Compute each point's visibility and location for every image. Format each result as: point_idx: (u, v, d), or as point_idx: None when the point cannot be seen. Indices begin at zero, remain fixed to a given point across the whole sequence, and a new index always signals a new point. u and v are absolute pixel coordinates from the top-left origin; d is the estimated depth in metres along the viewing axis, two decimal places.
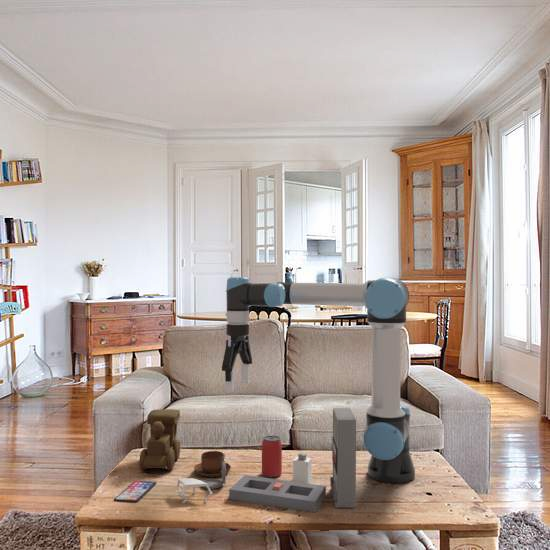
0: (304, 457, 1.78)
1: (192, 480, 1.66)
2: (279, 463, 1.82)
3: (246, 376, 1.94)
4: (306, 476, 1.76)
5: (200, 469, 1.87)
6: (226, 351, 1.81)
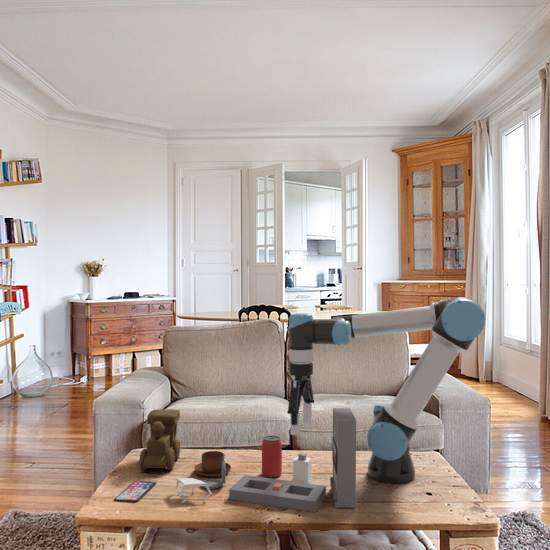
0: (304, 457, 1.78)
1: (191, 480, 1.66)
2: (279, 463, 1.82)
3: (308, 416, 1.85)
4: (306, 476, 1.76)
5: (200, 469, 1.87)
6: (292, 393, 1.72)
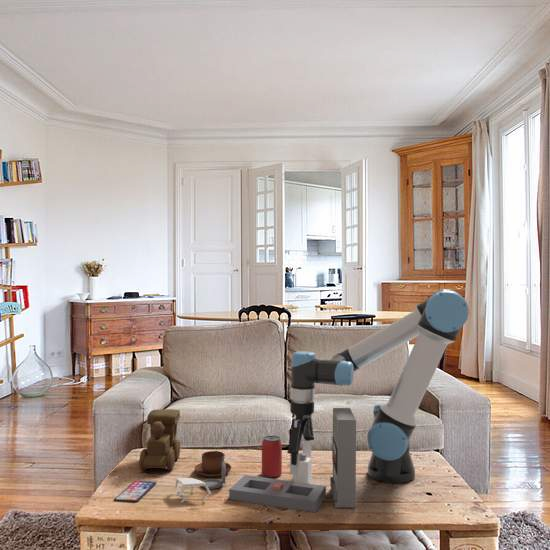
0: (304, 457, 1.78)
1: (190, 480, 1.67)
2: (279, 463, 1.82)
3: (308, 453, 1.85)
4: (306, 476, 1.76)
5: (200, 469, 1.87)
6: (292, 433, 1.72)
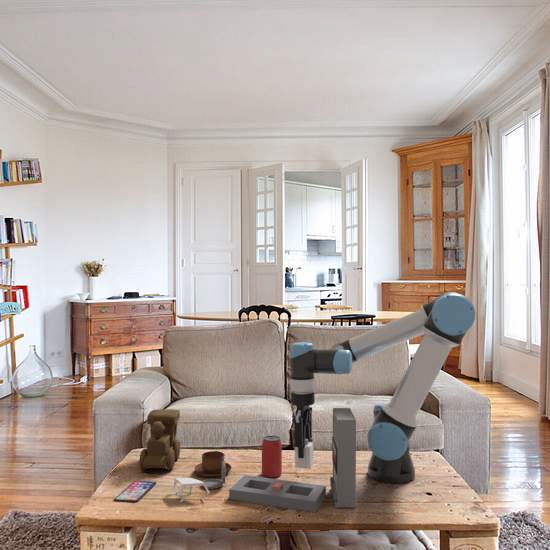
0: (306, 442, 1.78)
1: (189, 479, 1.67)
2: (279, 463, 1.82)
3: None
4: (308, 461, 1.76)
5: (201, 469, 1.87)
6: (295, 428, 1.73)
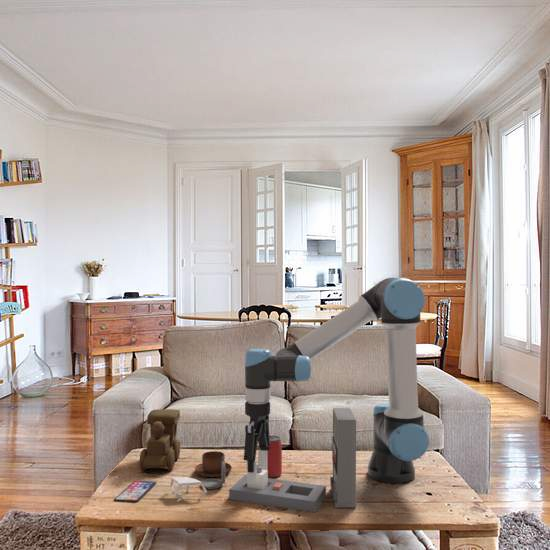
0: (259, 469, 1.67)
1: (186, 479, 1.67)
2: (279, 463, 1.82)
3: (264, 464, 1.72)
4: None
5: (201, 469, 1.87)
6: (247, 439, 1.61)
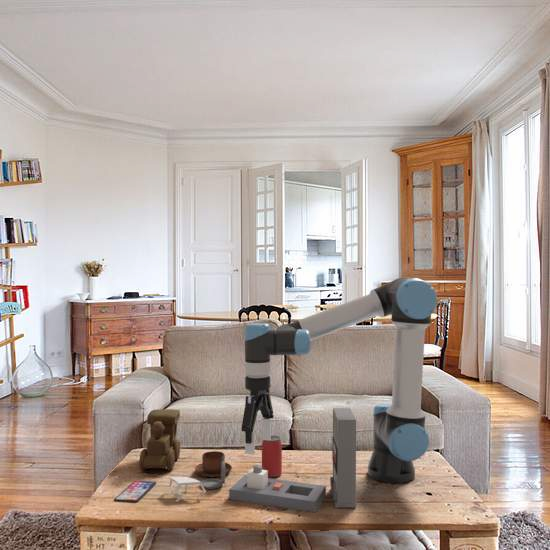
0: (259, 469, 1.67)
1: (185, 478, 1.68)
2: (279, 463, 1.82)
3: (267, 432, 1.74)
4: None
5: (201, 469, 1.87)
6: (246, 409, 1.61)
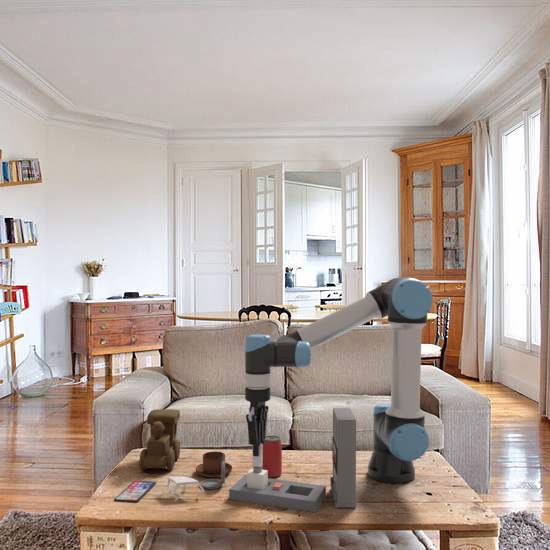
0: (259, 469, 1.67)
1: (183, 478, 1.68)
2: (279, 463, 1.82)
3: None
4: None
5: (201, 470, 1.87)
6: (249, 426, 1.63)
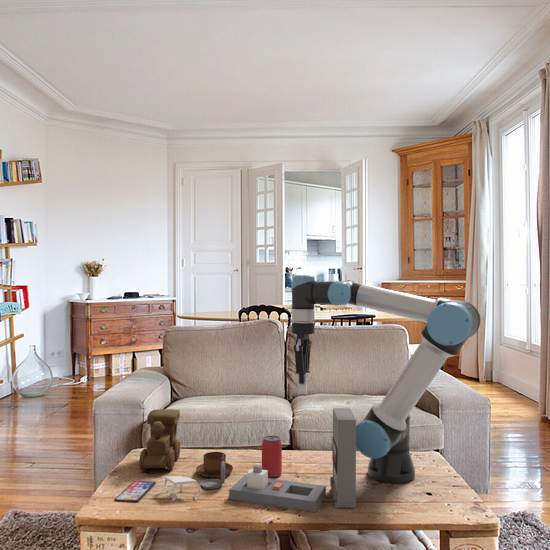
0: (259, 469, 1.67)
1: (180, 478, 1.68)
2: (279, 463, 1.82)
3: None
4: None
5: (202, 470, 1.87)
6: (296, 356, 1.81)
